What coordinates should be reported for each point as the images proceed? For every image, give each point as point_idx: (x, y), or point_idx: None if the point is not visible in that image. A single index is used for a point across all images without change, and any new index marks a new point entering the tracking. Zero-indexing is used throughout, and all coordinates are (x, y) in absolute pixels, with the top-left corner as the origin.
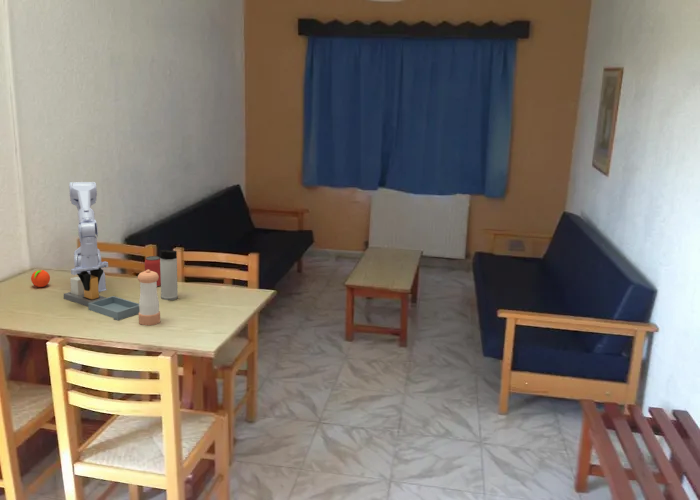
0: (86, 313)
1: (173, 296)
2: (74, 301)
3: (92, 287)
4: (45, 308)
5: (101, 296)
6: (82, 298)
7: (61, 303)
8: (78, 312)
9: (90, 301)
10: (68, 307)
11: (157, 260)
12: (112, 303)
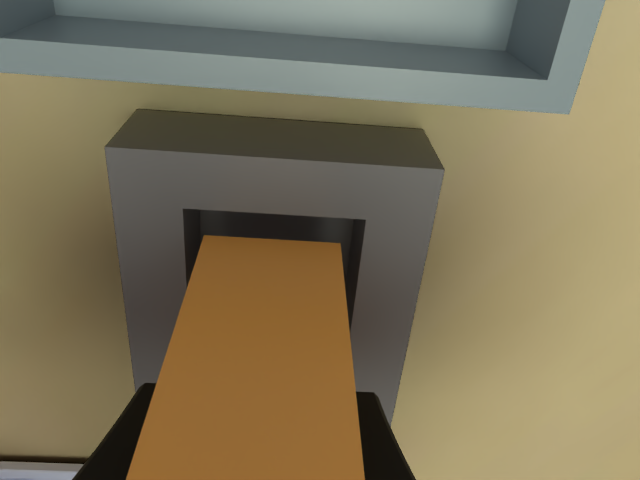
0: (624, 9)
1: None
2: None
3: (325, 396)
4: (622, 468)
5: (130, 252)
6: (368, 371)
7: (439, 471)
8: (622, 141)
9: (411, 198)
10: (508, 356)
11: None
12: (85, 3)
